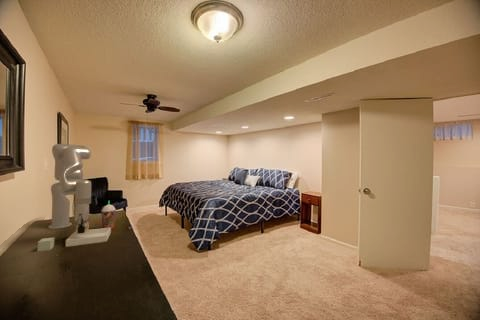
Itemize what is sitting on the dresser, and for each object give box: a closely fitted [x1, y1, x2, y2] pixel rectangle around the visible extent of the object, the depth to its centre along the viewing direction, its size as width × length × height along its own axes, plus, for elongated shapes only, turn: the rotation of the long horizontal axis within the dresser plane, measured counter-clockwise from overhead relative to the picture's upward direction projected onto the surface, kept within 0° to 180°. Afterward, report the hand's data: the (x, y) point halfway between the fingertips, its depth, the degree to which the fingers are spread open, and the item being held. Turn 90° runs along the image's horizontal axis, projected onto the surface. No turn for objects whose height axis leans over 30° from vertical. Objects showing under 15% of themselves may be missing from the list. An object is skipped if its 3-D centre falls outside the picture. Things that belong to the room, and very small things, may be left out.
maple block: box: [75, 221, 90, 234], centre depth 120 cm, size 5×5×5 cm
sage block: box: [37, 237, 55, 252], centre depth 107 cm, size 5×5×5 cm
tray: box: [65, 227, 112, 248], centre depth 121 cm, size 16×19×4 cm
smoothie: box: [101, 200, 117, 231], centre depth 139 cm, size 8×8×20 cm
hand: (82, 231), depth 120 cm, fingers closed on maple block, 4 cm apart
